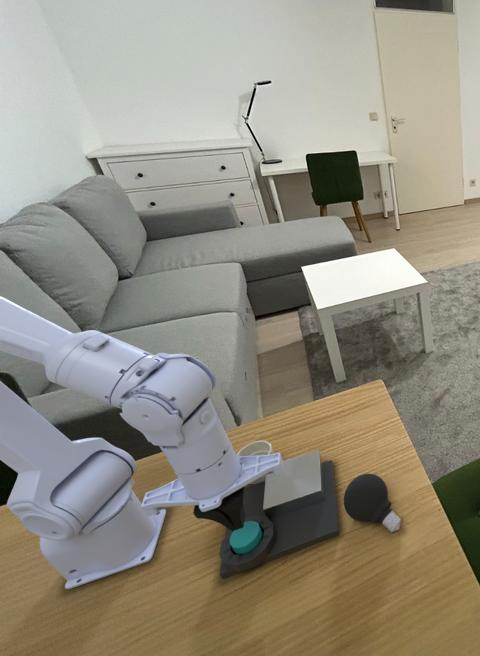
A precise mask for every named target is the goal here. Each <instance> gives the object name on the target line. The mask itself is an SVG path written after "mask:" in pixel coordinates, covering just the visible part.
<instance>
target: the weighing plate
mask: <svg viewBox="0 0 480 656" xmlns="http://www.w3.org/2000/svg"><path fill="white" fill-rule="evenodd" d="M283 461H284V470H283V474H281V475H278V476H274V474H273V473H272V474H268V475H266V480H265V492H264V504H263V511H264V513H265V515H266V517H268V518H269V520H271V519H274V518H277V517H280V516H283V515H285V514H288V513H291V512H294V511H297V510H300V509H303V508H306V507H308V506H311V505H314V504H317V503H320V502H323V501H325V495H324V479H323V462H324V461H323V459H322V455H321V452H320V449H318V450H315V451H311V452H308V453H305V454H302V455H298V456H295V457H292V458H288V459H285V460H283Z"/></svg>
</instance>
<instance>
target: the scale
mask: <svg viewBox="0 0 480 656" xmlns="http://www.w3.org/2000/svg"><path fill="white" fill-rule="evenodd" d="M334 468H335V467H334V463H333V460H332V459H329V460H326V461H323V479H324V495H325V501H323V502H320V503H317V504H314V505H311V506H308V507H306V508H303V509H300V510H297V511H294V512H291V513H288V514H285V515H283V516H280V517H277V518H274V519H271V520H269V518H268V517H266V515H265V513H264V511H263V504H264V492H265V481H263V482H260V483H257V484H250V485H248V486H245V490H244V497H243V506H244V512H245V521H244V523H245V522H249V521H254V522H256V523H258V525H259V527H260V529H261V531H262V539H261V541H260V543H259V544H258V545H257V546H256V547H255V548H254V549H253V550H252V551H250V552H248V553H245V554H237V553H235V552H234V550H233V548H232V546H231V545H230V537H231V534H232V533H233V531H231V530H230V529H228V528H227V527H226V532H225V537H224V538H223V540H222V541H221V544H220V547H219V548H220V549H219V557H220V559H221V561H220V567H219V576H220V578H221V580H226V579H228V578H231V577H233V576H236V575H239V574H242V573H244V572H247V571H249V570H252V569H254V568H258V567H261V566H263V565H266V564H268V563H271V562H273V561H276V560H278V559H281V558H283V557H286V556H289V555H292V554H294V553H297V552H300V551H302V550H305V549H307V548H310V547H313V546H315V545H318V544H320V543H321V544H322V543H323V542H326V541H329V540H331V539H335V538H336V537H339V536H340V525H339V514H338V513H339V512H338V503H337V492H336V491H337V490H336V481H335V471H334V470H335V469H334Z"/></svg>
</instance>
